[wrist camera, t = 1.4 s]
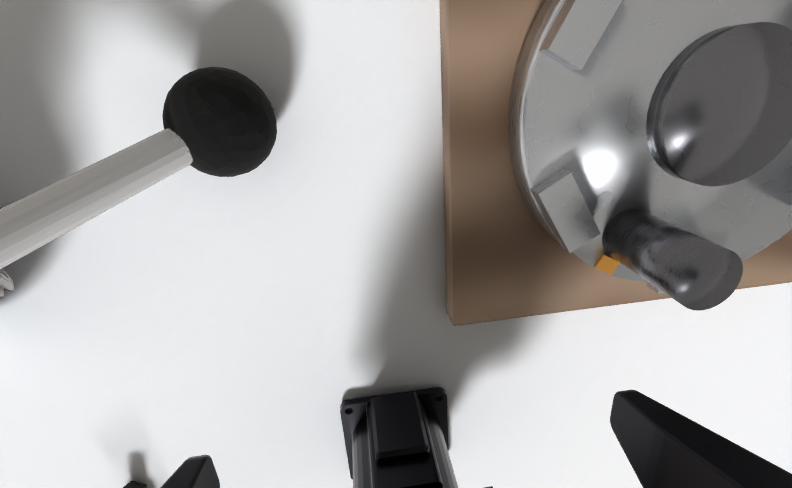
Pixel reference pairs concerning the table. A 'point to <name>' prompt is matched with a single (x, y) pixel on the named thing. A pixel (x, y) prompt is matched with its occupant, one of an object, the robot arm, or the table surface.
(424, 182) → the table surface
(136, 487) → the soldier figurine
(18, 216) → the mechanical valve
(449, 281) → the base plate
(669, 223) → the rotary indexing table
